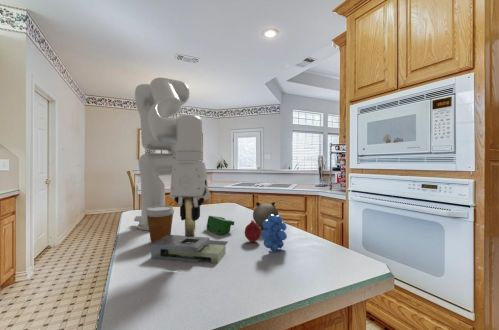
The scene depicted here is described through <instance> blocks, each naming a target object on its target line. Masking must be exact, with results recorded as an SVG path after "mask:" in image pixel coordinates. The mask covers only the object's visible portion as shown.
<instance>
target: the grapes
mask: <svg viewBox="0 0 499 330" xmlns="http://www.w3.org/2000/svg"><path fill="white" fill-rule="evenodd" d="M263 227H264V229H266V230H262V231H261V236H260V237H261V238H262V239H263V240H264V241H263V246H264V247H265V248H266V249H270V251H271V252H276V251H278V249H282V248H283V247H284V246H285V245H284V241H285V240H286V239H288V236H287V233H286V232H285V230H287V225H286V223H285V222H284V221H283V218H282V216H281V215H279V214H278V215H277V216H275V215H273V214H271V215H269V217H268V220H265V221H264V222H263Z"/></svg>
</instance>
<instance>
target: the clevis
mask: <svg viewBox="0 0 499 330" xmlns="http://www.w3.org/2000/svg"><path fill="white" fill-rule="evenodd" d="M210 240H211V237H207V236H206V237H205V236H194V237H185V235H179V234H178V235H177V234H171V235H166V236H164V237H162V238H161V239H159V240H157V241H155V242H154V243H152V244H151V243H150V254H151V255H150V257H151V258H150V259H152V260H160V261H161V260H162V261H172V262H179V263H181V262H183V263H193V264H199V263H200V262H201V261H202V259H204V258H210V263H211V264H219V263H220V261H221V260H222V259H223V258H224V256H225V255H226V245H227V244H226V245H214V244H207V243H208V242H210Z"/></svg>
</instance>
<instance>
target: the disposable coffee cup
mask: <svg viewBox="0 0 499 330" xmlns="http://www.w3.org/2000/svg"><path fill="white" fill-rule="evenodd" d="M174 213H175V209H174V206H172V205H171V206H170V205H165V206H154V207H150V208H148V209H147V212H146V214H147V218H148V225H149V230H148V231H149V238H150V245H151V244H152V243H154V242H155V241H157V240H159V239H161V238H162V237H164V236H166V235H172V234H171V233H172V225H173V218H174Z"/></svg>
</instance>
